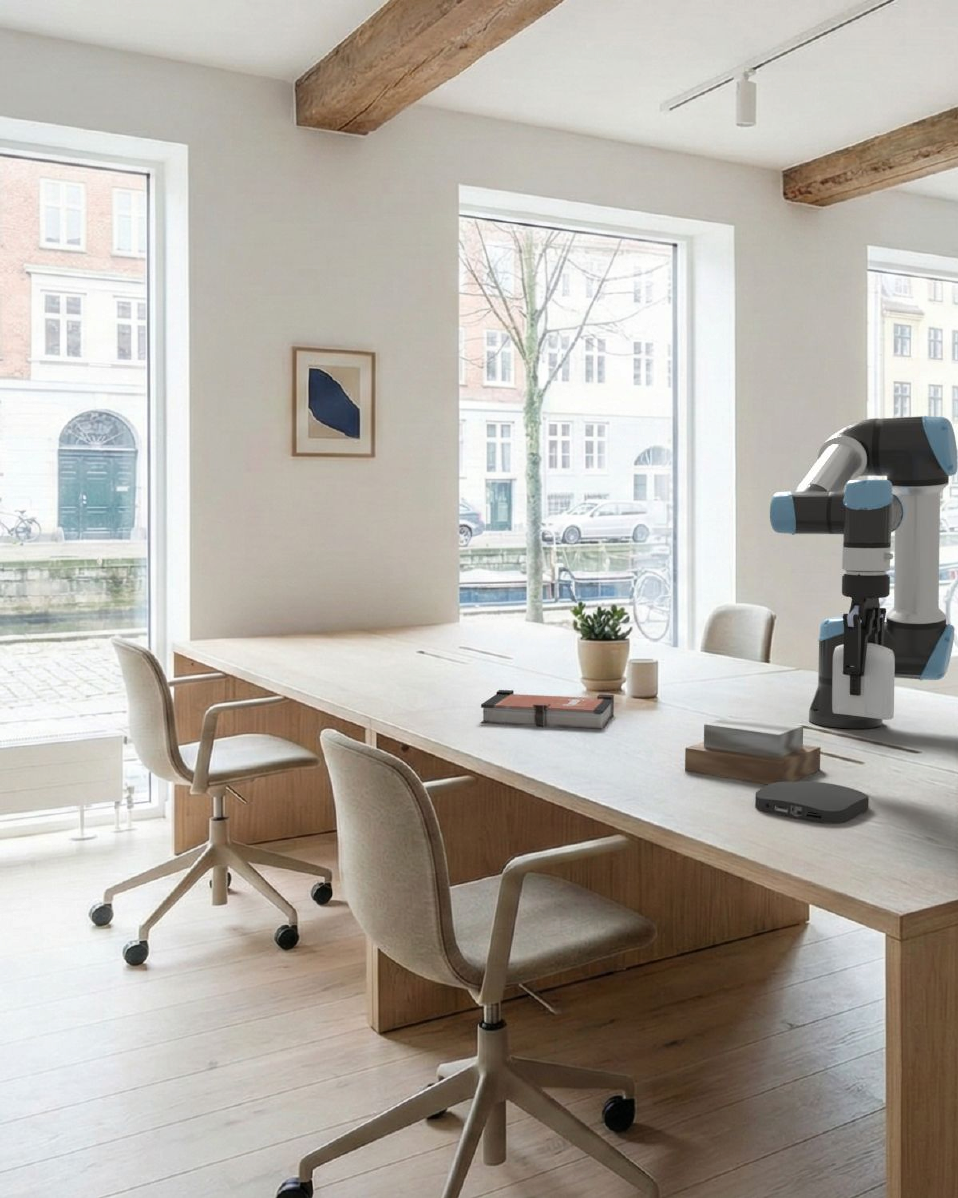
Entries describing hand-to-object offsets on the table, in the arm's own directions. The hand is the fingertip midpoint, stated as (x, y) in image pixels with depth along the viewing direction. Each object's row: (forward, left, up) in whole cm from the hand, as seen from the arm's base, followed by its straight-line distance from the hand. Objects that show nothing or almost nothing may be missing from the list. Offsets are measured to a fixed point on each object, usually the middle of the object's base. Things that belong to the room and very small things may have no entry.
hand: (862, 711), depth 186 cm
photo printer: (0, 0, -1) cm, 1 cm away
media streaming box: (+20, 0, -13) cm, 24 cm away
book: (-12, -73, -13) cm, 75 cm away
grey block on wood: (+3, -18, -12) cm, 22 cm away
